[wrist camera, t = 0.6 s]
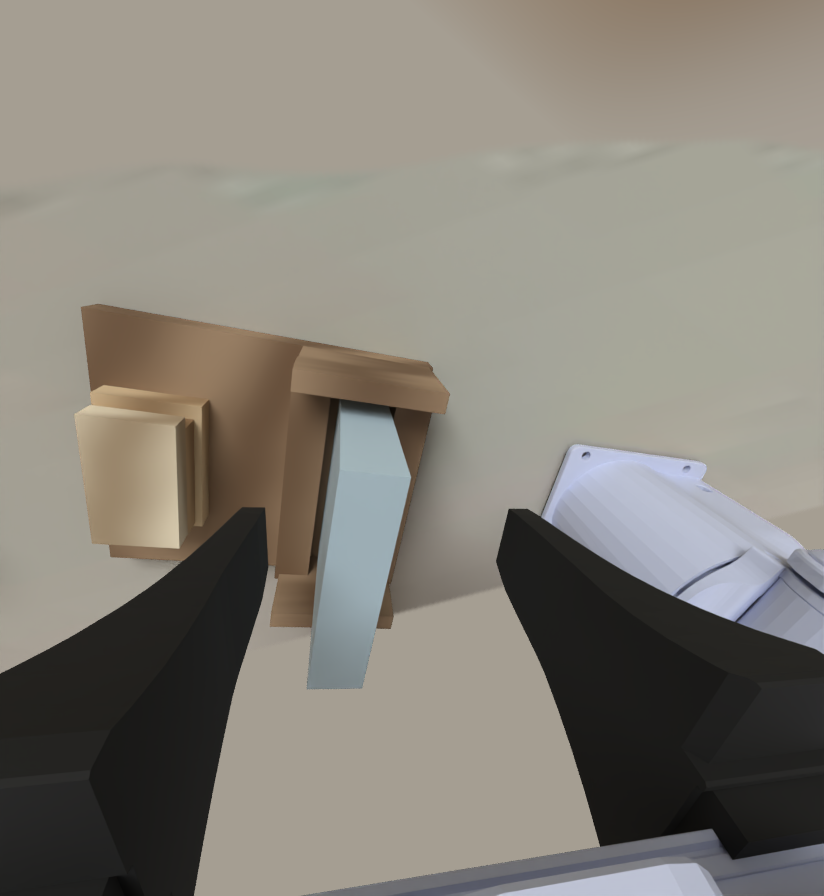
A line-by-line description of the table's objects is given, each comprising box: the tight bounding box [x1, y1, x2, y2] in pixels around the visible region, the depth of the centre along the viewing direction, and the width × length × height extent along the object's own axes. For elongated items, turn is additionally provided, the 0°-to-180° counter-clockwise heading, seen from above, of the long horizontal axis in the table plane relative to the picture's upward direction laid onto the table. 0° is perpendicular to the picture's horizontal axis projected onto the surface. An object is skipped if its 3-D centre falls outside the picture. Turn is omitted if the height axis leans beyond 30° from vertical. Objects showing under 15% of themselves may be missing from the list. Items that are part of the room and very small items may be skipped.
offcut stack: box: [74, 385, 209, 549], centre depth 17 cm, size 4×6×3 cm, turn 168°
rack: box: [81, 304, 450, 629], centre depth 18 cm, size 14×12×5 cm
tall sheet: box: [307, 399, 411, 689], centre depth 16 cm, size 2×9×8 cm, turn 169°
